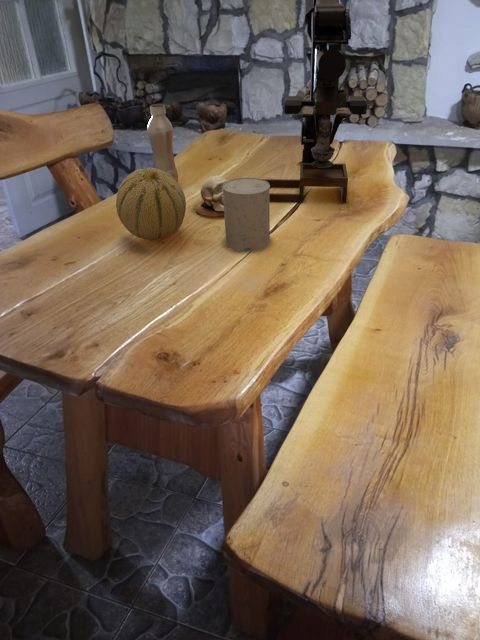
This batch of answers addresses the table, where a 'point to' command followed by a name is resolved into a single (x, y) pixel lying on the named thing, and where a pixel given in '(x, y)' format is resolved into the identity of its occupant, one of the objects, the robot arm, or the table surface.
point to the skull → (212, 197)
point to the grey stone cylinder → (247, 214)
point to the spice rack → (311, 182)
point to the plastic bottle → (162, 140)
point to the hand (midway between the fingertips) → (323, 143)
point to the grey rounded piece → (323, 144)
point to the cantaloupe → (150, 204)
